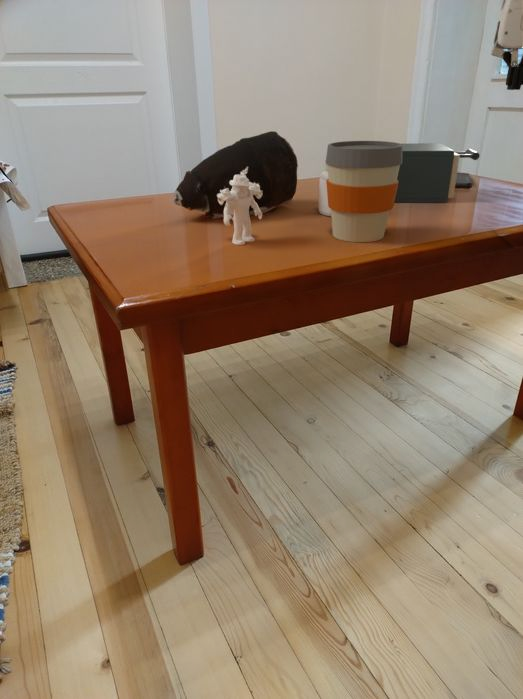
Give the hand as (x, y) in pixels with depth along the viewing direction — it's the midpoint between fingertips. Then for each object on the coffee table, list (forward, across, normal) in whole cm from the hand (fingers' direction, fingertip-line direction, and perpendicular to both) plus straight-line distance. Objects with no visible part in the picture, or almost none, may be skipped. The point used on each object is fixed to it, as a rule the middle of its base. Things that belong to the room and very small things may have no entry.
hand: (513, 89), depth 102 cm
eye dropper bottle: (+22, -36, -13) cm, 44 cm away
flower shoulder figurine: (+22, -51, -34) cm, 65 cm away
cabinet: (+22, -18, +5) cm, 29 cm away
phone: (+22, -3, +23) cm, 32 cm away
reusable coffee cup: (+22, -31, -29) cm, 48 cm away
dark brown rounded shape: (+22, -56, -13) cm, 62 cm away
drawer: (+21, -14, +5) cm, 26 cm away
